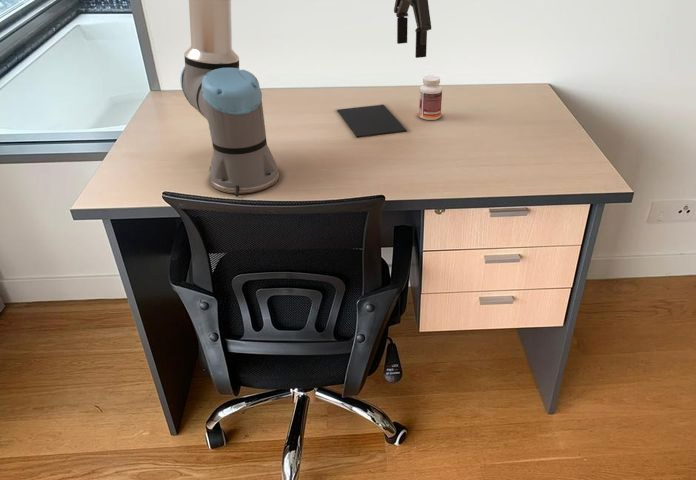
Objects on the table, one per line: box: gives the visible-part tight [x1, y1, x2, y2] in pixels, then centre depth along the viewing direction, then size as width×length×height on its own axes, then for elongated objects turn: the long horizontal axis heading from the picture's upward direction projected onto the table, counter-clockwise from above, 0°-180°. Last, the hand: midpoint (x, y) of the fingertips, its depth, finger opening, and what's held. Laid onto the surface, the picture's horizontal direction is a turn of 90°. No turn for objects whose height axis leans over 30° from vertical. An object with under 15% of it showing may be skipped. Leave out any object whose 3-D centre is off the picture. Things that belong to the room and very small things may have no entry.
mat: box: [337, 104, 408, 138], centre depth 164 cm, size 20×14×1 cm
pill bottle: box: [418, 74, 443, 121], centre depth 164 cm, size 6×6×11 cm
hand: (411, 49), depth 157 cm, fingers open, 13 cm apart
